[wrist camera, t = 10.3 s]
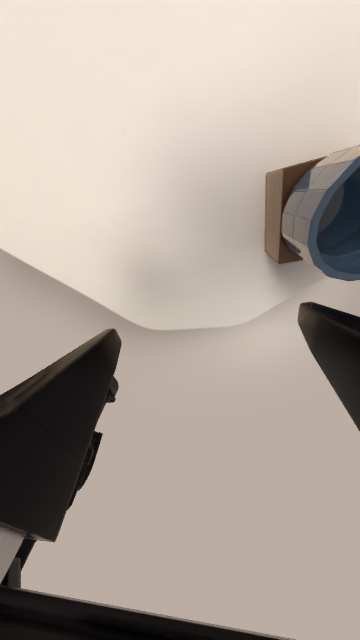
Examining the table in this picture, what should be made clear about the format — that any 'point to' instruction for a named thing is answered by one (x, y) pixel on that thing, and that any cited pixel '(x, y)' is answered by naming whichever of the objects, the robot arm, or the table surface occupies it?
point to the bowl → (327, 216)
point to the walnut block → (281, 208)
